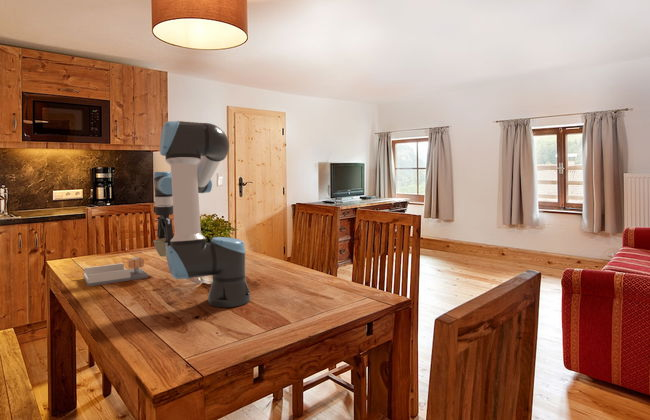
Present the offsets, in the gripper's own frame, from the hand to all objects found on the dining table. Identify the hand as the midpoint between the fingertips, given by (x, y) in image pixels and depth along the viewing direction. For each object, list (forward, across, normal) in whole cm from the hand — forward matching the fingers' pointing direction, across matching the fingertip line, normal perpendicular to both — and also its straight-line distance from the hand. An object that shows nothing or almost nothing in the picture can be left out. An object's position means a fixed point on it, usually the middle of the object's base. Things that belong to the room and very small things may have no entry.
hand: (165, 254), depth 184 cm
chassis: (+9, +5, +20) cm, 22 cm away
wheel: (+5, +4, +12) cm, 13 cm away
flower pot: (+1, 0, 0) cm, 1 cm away
